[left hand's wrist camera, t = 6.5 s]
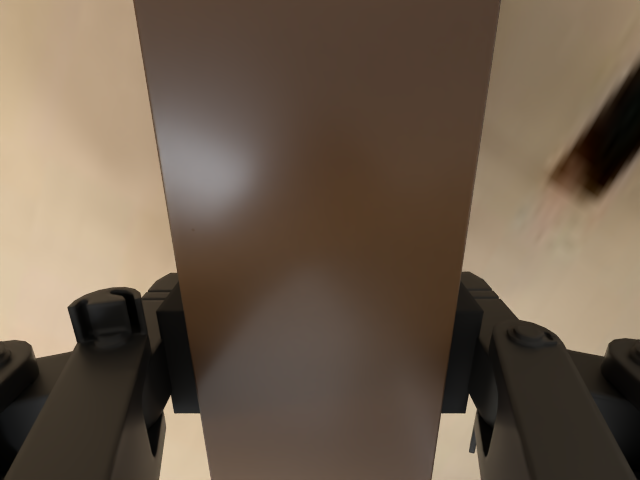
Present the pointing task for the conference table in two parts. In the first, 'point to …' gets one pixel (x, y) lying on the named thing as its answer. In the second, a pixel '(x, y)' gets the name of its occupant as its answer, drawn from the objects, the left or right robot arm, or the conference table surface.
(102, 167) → the conference table surface
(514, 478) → the left robot arm
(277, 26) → the plank
